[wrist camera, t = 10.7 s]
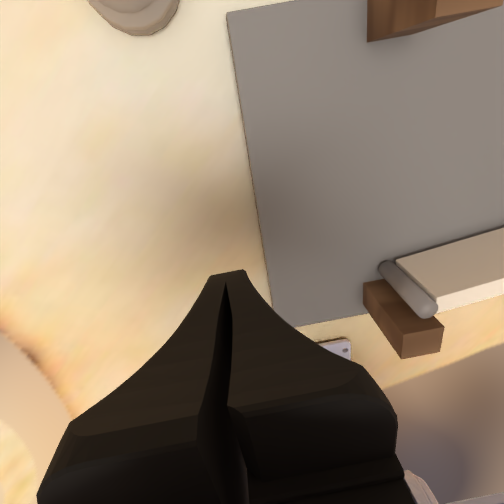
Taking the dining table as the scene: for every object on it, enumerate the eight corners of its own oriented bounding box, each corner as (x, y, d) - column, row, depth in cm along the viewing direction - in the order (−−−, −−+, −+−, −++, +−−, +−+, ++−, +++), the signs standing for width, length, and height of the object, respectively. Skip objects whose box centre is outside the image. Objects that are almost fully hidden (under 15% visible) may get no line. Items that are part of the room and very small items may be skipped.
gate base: (539, 271, 25) (551, 278, 24) (275, 322, 24) (277, 330, 24) (650, -59, 15) (676, -68, 15) (226, 17, 15) (226, 12, 14)
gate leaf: (379, 280, 22) (418, 324, 18) (377, 260, 21) (417, 301, 17) (561, 226, 21) (646, 259, 17) (566, 203, 21) (656, 231, 16)
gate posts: (393, 298, 23) (439, 351, 18) (362, 304, 23) (401, 359, 18) (416, -17, 14) (516, -74, 10) (367, -8, 14) (443, -61, 10)
